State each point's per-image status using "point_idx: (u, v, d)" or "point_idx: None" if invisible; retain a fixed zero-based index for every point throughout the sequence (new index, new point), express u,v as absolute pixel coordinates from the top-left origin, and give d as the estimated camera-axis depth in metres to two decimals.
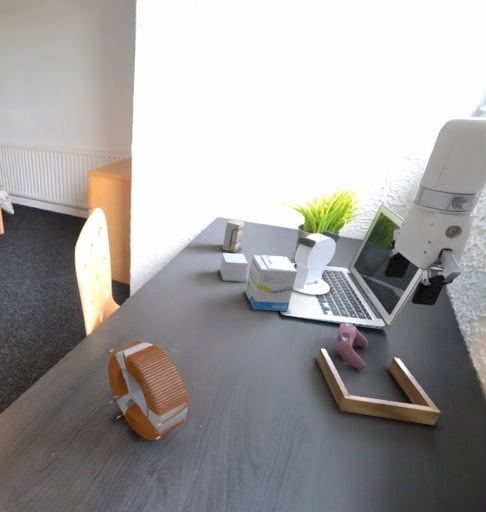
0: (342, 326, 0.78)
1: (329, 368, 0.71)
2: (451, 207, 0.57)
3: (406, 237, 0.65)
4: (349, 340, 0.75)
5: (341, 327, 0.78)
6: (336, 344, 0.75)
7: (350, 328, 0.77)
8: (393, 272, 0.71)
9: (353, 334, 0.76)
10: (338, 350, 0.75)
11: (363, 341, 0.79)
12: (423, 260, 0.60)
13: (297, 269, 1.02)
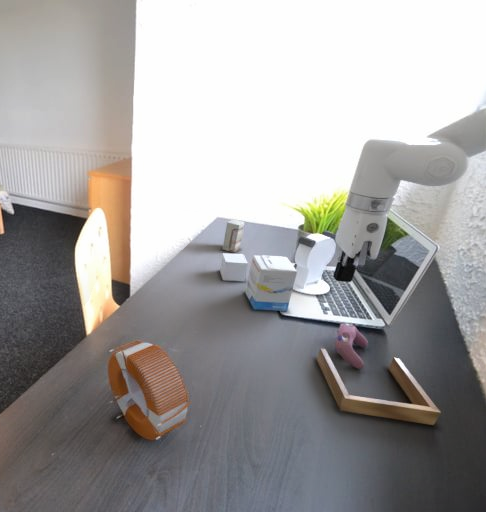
0: (342, 326, 0.78)
1: (329, 368, 0.71)
2: (370, 208, 0.72)
3: (342, 232, 0.80)
4: (349, 340, 0.75)
5: (341, 327, 0.78)
6: (336, 344, 0.75)
7: (350, 328, 0.77)
8: None
9: (353, 334, 0.76)
10: (338, 350, 0.75)
11: (363, 341, 0.79)
12: (351, 250, 0.76)
13: (297, 269, 1.02)
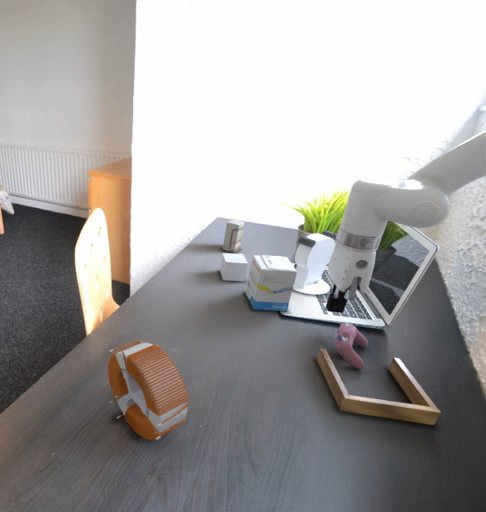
0: (342, 326, 0.78)
1: (329, 368, 0.71)
2: (359, 246, 0.75)
3: (333, 265, 0.83)
4: (349, 340, 0.75)
5: (341, 327, 0.78)
6: (336, 344, 0.75)
7: (350, 328, 0.77)
8: None
9: (353, 334, 0.76)
10: (338, 350, 0.75)
11: (363, 341, 0.79)
12: (342, 285, 0.79)
13: (297, 269, 1.02)
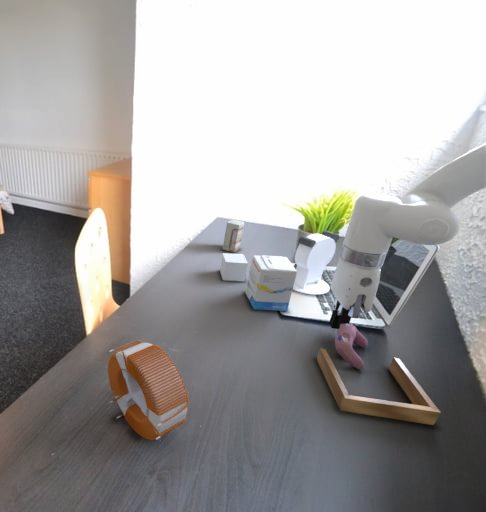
0: (342, 326, 0.78)
1: (329, 368, 0.71)
2: (364, 263, 0.73)
3: (336, 282, 0.81)
4: (349, 340, 0.75)
5: (341, 327, 0.78)
6: (336, 344, 0.75)
7: (350, 328, 0.77)
8: None
9: (353, 334, 0.76)
10: (338, 350, 0.75)
11: (363, 341, 0.79)
12: (345, 302, 0.77)
13: (297, 269, 1.02)
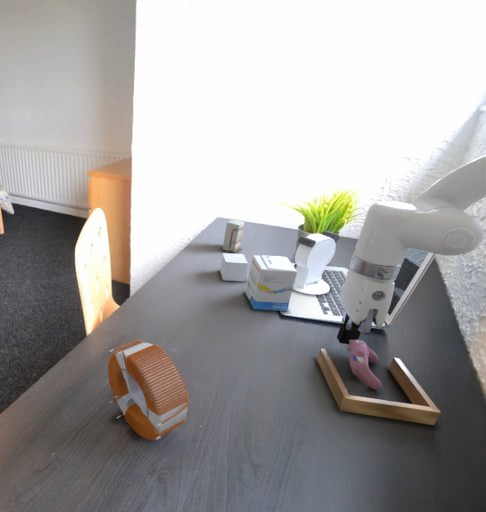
0: (353, 344, 0.73)
1: (329, 368, 0.71)
2: (376, 275, 0.68)
3: (346, 294, 0.76)
4: (365, 360, 0.69)
5: (353, 345, 0.72)
6: (352, 365, 0.70)
7: (362, 346, 0.72)
8: None
9: (367, 353, 0.70)
10: (354, 371, 0.69)
11: (374, 357, 0.74)
12: (356, 317, 0.71)
13: (297, 269, 1.02)
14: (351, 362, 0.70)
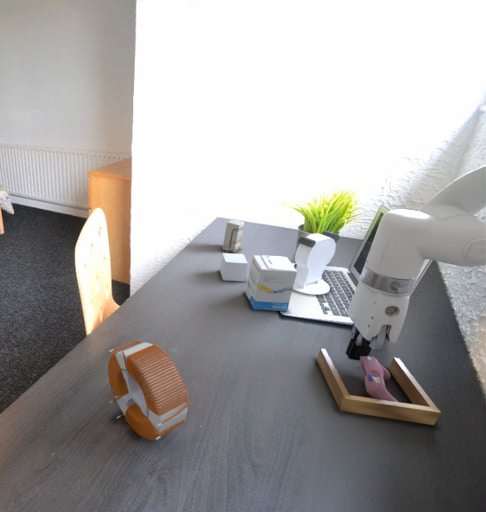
0: (366, 361, 0.68)
1: (329, 368, 0.71)
2: (390, 289, 0.63)
3: (356, 307, 0.71)
4: (381, 380, 0.65)
5: (366, 363, 0.68)
6: (368, 386, 0.65)
7: (376, 363, 0.67)
8: None
9: (382, 372, 0.66)
10: (371, 393, 0.65)
11: (386, 374, 0.70)
12: (367, 332, 0.67)
13: (297, 269, 1.02)
14: (367, 383, 0.65)
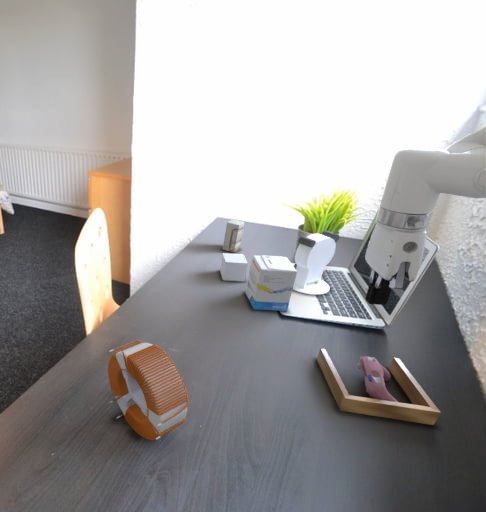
0: (366, 362, 0.68)
1: (329, 368, 0.71)
2: (407, 226, 0.65)
3: (373, 251, 0.72)
4: (381, 380, 0.65)
5: (366, 363, 0.68)
6: (368, 386, 0.65)
7: (376, 364, 0.67)
8: None
9: (382, 372, 0.66)
10: (371, 393, 0.65)
11: (386, 374, 0.70)
12: (386, 272, 0.68)
13: (297, 269, 1.02)
14: (367, 383, 0.65)
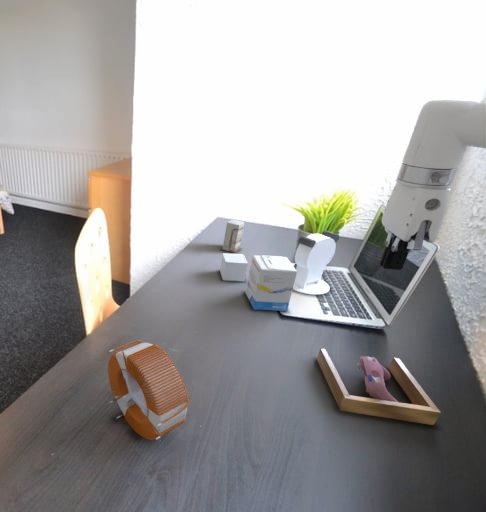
0: (366, 362, 0.68)
1: (329, 368, 0.71)
2: (430, 182, 0.62)
3: (391, 212, 0.70)
4: (381, 380, 0.65)
5: (366, 363, 0.68)
6: (368, 386, 0.65)
7: (376, 364, 0.67)
8: None
9: (382, 372, 0.66)
10: (371, 393, 0.65)
11: (386, 374, 0.70)
12: (406, 232, 0.65)
13: (297, 269, 1.02)
14: (367, 383, 0.65)
